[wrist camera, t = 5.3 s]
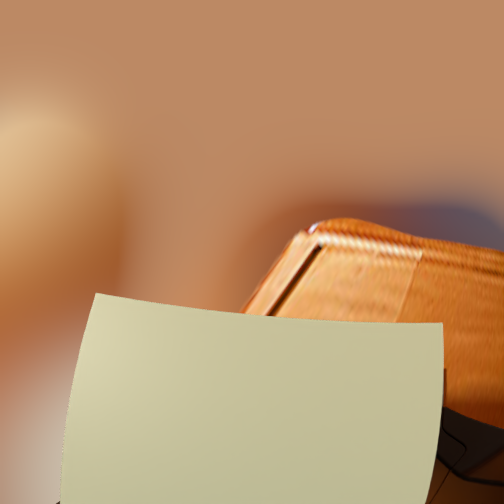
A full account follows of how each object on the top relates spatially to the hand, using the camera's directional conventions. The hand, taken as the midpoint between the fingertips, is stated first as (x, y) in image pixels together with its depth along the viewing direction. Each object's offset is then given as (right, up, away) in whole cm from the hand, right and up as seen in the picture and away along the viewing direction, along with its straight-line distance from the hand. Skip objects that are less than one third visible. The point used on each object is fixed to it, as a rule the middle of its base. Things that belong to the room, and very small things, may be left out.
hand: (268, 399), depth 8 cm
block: (+1, -4, +5) cm, 7 cm away
